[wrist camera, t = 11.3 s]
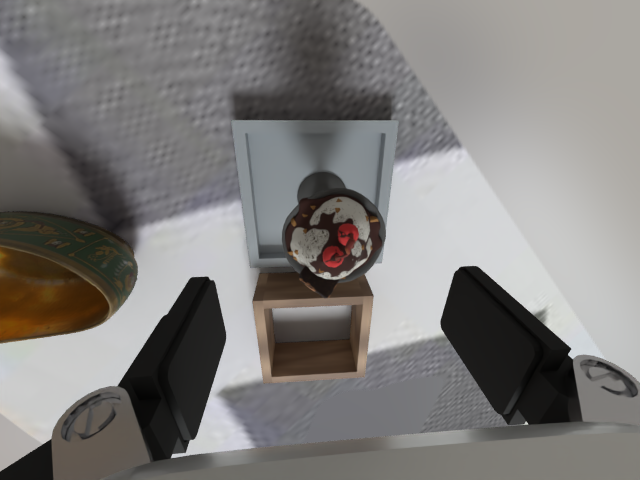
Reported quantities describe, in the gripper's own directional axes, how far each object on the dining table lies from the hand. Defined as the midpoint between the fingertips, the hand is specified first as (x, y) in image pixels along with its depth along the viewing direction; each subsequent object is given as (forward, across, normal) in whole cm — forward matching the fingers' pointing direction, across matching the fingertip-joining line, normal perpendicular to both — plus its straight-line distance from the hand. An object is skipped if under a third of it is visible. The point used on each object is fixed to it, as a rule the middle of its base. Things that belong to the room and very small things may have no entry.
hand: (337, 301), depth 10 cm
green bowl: (+18, +27, +6) cm, 33 cm away
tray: (+18, 0, +1) cm, 18 cm away
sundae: (+17, -1, +1) cm, 17 cm away
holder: (+17, 0, +16) cm, 23 cm away
